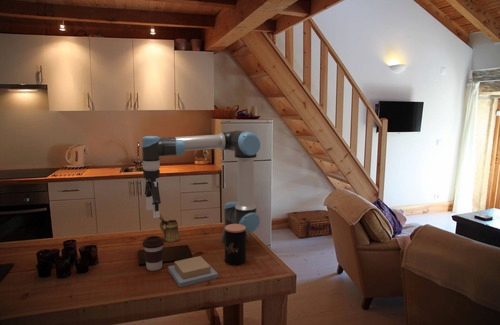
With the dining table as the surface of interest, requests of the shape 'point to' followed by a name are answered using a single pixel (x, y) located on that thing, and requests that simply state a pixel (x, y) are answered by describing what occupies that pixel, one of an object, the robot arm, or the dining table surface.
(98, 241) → the dining table surface
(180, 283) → the base
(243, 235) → the coffee jar
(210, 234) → the dining table surface
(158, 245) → the coffee cup
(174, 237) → the brass coffee pot
